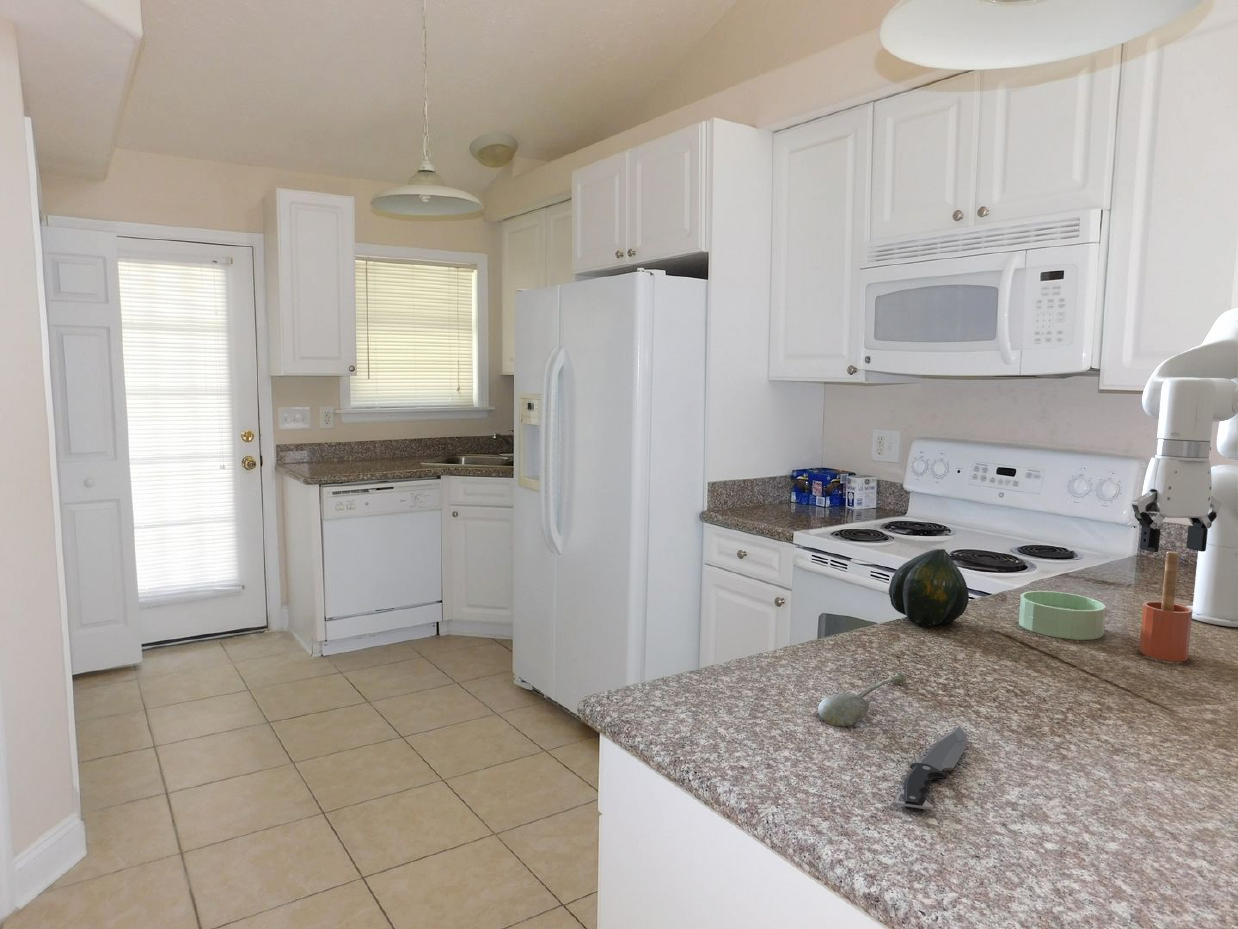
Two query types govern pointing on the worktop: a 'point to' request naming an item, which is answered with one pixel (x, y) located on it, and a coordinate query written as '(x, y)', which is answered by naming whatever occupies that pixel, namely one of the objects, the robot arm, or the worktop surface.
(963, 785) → the worktop surface
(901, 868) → the worktop surface
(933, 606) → the squash
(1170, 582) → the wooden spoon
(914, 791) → the knife
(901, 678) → the soupspoon
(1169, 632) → the crock
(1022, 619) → the bowl
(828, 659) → the worktop surface
